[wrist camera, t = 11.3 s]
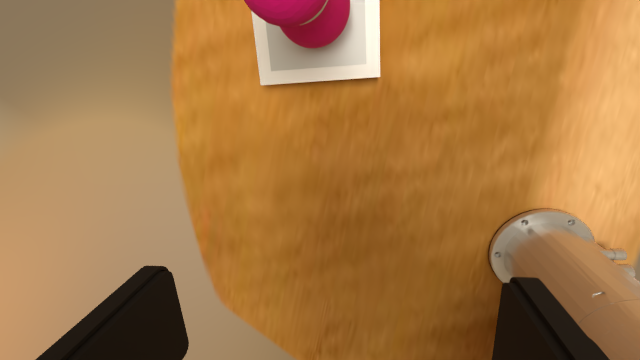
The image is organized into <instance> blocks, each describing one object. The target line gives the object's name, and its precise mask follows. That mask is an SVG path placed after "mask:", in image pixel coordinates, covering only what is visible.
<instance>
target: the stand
mask: <svg viewBox="0 0 640 360" xmlns="http://www.w3.org/2000/svg"><path fill="white" fill-rule="evenodd" d="M251 11H252V10H251ZM252 19H253V27H254V35H255V43H256V51H257V59H258V67H259V75H260V83H261V85H273V84H287V83H301V82H316V81H330V80H344V79H358V78H372V77H380V13H379V0H350V14H349V18H348V21H347V24H346V26H345V28H344V30H343V31H342V33H341V34H340V35H339V36H338V38H337V39H335V40H334V41H333V42H332V43H330V44H328V45H326V46H323V47H320V48H305V47H302V46H299V45H297V44H295V43H294V42H292V41H291V40H290V39H289V38H288V37H287V36H286V35H285V34H284V33H283V32H282V30H281V28H280V26H276V25H272V24H269V23H267V22H266V21H264V20H263V19H261V18H259V17H258V16H257V15H256V14H255V13H254V12H253V11H252Z"/></svg>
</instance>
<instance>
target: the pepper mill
mask: <svg viewBox="0 0 640 360" xmlns="http://www.w3.org/2000/svg"><path fill="white" fill-rule="evenodd" d="M244 1H245V3H246V4H247V5H248V7H249V8H250V9H251V10H252V11H253V12H254V13H255V14H256V15H257V16H258V17H259V18H261V19H263V20H264V21H266V22H267V23H269V24H272V25H276V26H280V28H281V30H282V32H283V33H284V34H285V35H286V36H287V37H288V38H289V39H290V40H291V41H292V42H294V43H295V44H297V45H299V46H302V47H305V48H320V47H323V46H326V45H328V44H330V43H332V42H333V41H334V40H335V39H337V38H338V36H339V35H340V34H341V33H342V31H343V30H344V28H345V26H346V24H347V21H348V18H349V14H350V0H244Z"/></svg>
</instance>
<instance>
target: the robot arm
mask: <svg viewBox="0 0 640 360" xmlns="http://www.w3.org/2000/svg"><path fill="white" fill-rule="evenodd" d="M626 258H627V253H626V251H625V250H624V249H604V248H602V247H601V246H600V245H598V244H597V243H596V242H595V240H594V236H593V234H592V232H591V230H590V229H589V228H588V227H587V226H586V224H585V223H583V222H582V221H581V220H579V219H578V218H577V217H575V216H573V215H571V214H570V213H567V212H564V211H561V210H555V209H538V210H532V211H528V212H525V213H522V214H520V215H518V216H516V217H514V218H512V219H511V220H509V221H508V222H507V223H505V224H504V225H503V226H502V227H501V228H500V229H499V230H498V232H497V233H496V235H495V236H494V238H493V240H492V242H491V245H490V250H489V261H490V264H491V267H492V269H493V271H494V272H495V274H496V276H497V277H498V278H499V279H500V281H502V282H503V283H504V284H503V286H502V291H501V299H500V306H499V313H498V320H497V327H496V334H495V341H494V349H493V356H492V360H640V282H639V281H638V280H637V279H635V278H634V277H635V271H634V269H633V267H632V266H631V265H628V264H616V263H614V262H613V261H612V260H626ZM188 344H189V342H188V337H187V333H186V328H185V324H184V320H183V316H182V312H181V308H180V303H179V299H178V295H177V291H176V287H175V282H174V278H173V275H172V273H171V272H169V271H168V269H167V268H166V267H164V266H144V267H143V268H141V269H140V270H139V271H138V272H136V273H135V274H134V275H133V276H132V277H131V278H130V279H128V280H127V281H126V282H125V283H124V284H123V285H122V286H120V287H119V288H118V289H117V290H116V291H115V292H113V293H112V294H111V295H110V296H109V297H108V298H106V299H105V300H104V301H103V302H102V303H101V304H99V305H98V306H97V307H96V308H95V309H94V310H92V311H91V312H90V313H89V314H88V315H87V316H86V317H85V318H83V319H82V320H81V321H80V322H79V323H77V325H75V326H74V327H73V328H72V329H71V330H69V331H68V332H67V333H66V334H65V335H64V336H62V337H61V338H60V339H59V340H58V341H57V342H56V343H54V344H53V345H52V346H51V347H50V348H49V349H47V350H46V351H45V352H44V353H43V354H42V355H40V356H39V357H38V358H37V359H36V360H182V359H183V358H184V356H185V354H186V353H187V350H188Z"/></svg>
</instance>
